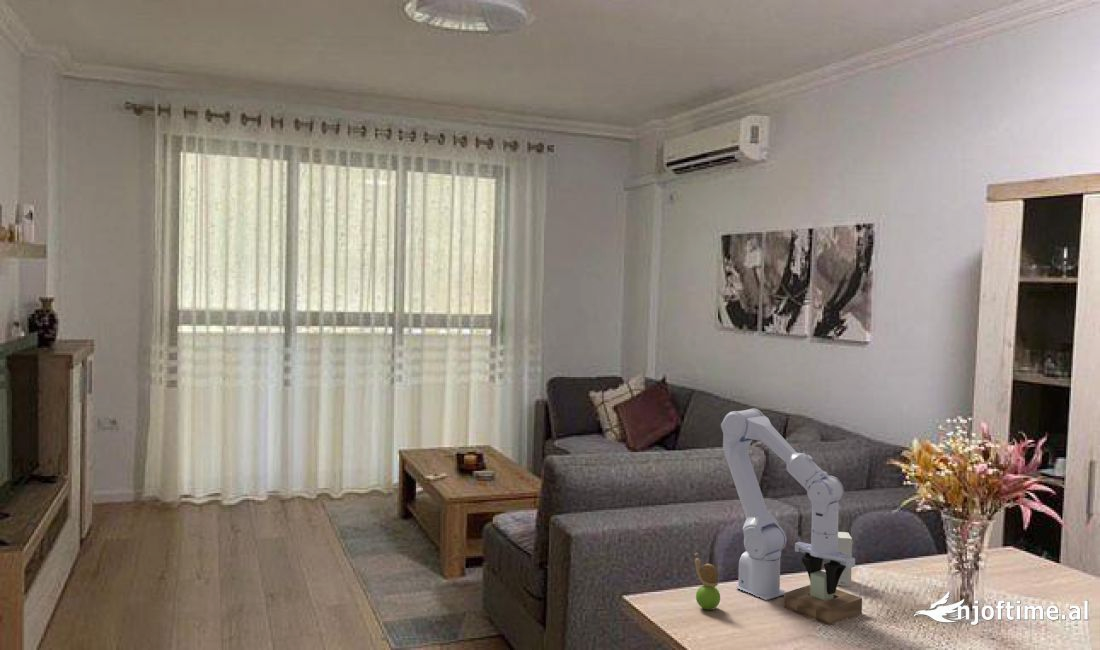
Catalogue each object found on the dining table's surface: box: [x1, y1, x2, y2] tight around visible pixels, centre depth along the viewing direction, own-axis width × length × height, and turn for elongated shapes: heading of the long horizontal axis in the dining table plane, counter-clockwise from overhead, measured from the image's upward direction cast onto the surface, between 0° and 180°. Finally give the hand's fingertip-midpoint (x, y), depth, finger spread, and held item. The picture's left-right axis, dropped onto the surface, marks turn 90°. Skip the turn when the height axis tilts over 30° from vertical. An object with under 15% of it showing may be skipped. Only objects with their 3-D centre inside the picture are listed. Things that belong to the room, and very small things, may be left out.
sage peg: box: [809, 570, 833, 601], centre depth 185 cm, size 4×4×6 cm
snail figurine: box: [694, 552, 721, 611], centre depth 186 cm, size 5×6×12 cm
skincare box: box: [837, 531, 853, 587], centre depth 204 cm, size 6×4×12 cm
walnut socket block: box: [783, 584, 863, 626], centre depth 185 cm, size 12×12×4 cm
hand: (823, 590), depth 185 cm, fingers closed on sage peg, 4 cm apart
